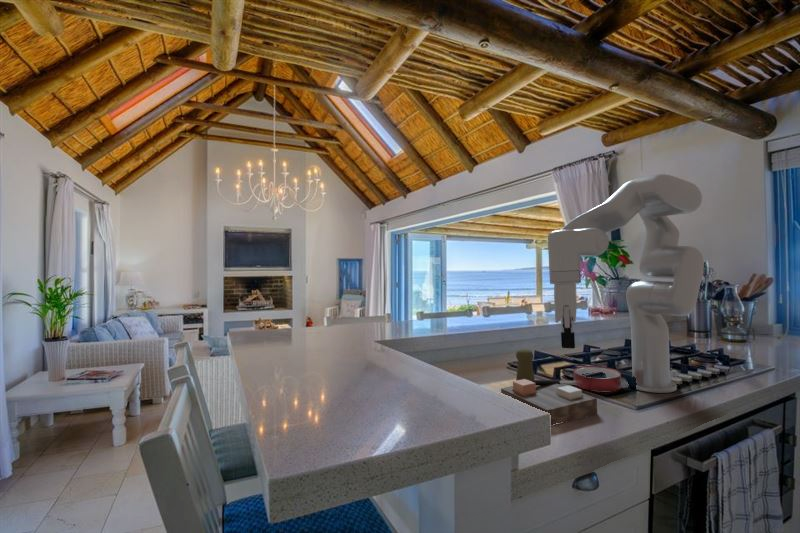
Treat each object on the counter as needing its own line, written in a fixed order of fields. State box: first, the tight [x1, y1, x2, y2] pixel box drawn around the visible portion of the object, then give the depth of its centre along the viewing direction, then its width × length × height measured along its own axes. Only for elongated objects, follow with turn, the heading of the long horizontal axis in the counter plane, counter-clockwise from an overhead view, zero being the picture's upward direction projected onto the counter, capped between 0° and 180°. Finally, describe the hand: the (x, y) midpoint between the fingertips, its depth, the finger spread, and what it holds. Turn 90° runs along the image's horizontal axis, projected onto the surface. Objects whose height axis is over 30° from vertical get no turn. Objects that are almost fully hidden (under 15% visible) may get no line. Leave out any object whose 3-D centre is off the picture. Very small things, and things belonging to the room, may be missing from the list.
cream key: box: [557, 385, 583, 400], centre depth 103 cm, size 4×4×3 cm
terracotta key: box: [512, 379, 536, 396], centre depth 107 cm, size 4×4×3 cm
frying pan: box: [531, 365, 622, 391], centre depth 116 cm, size 32×13×6 cm, turn 120°
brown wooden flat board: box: [500, 378, 598, 426], centre depth 105 cm, size 16×18×4 cm
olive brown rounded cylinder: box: [515, 348, 536, 381], centre depth 125 cm, size 6×6×11 cm
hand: (568, 347), depth 103 cm, fingers closed
